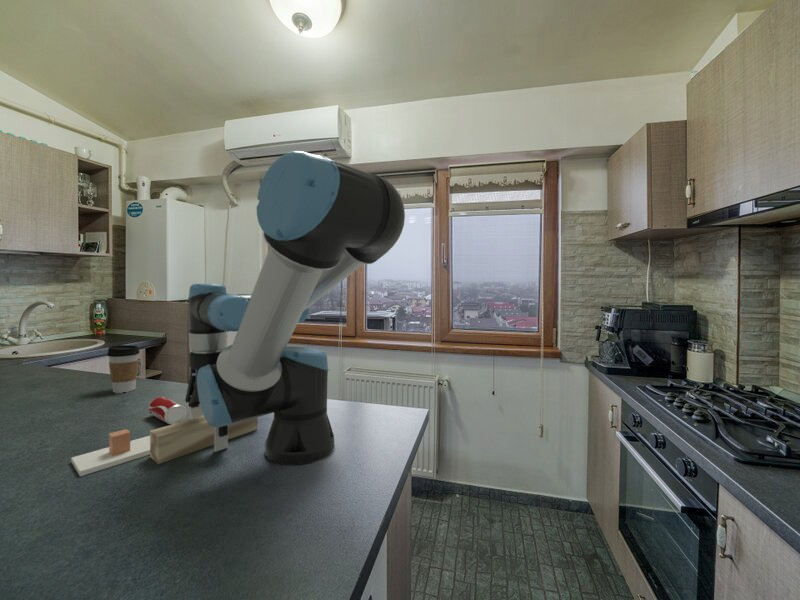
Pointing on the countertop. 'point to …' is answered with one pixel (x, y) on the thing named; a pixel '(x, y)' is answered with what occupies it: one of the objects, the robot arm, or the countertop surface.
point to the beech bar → (190, 437)
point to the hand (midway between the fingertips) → (208, 440)
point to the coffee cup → (123, 367)
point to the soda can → (167, 410)
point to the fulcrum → (112, 453)
